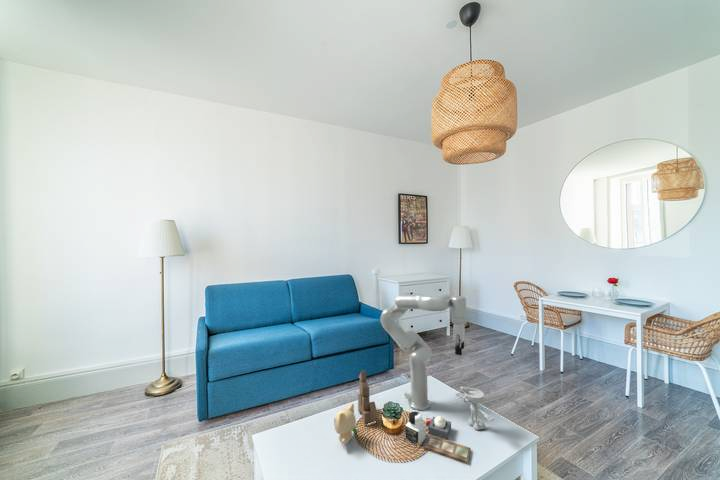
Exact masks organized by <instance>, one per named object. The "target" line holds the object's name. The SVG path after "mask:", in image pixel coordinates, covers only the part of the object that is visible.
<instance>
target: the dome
mask: <svg viewBox="0 0 720 480" xmlns="http://www.w3.org/2000/svg"><path fill="white" fill-rule="evenodd" d="M445 420H446V419H445V418H444V417H443V416H442V415H441V416H440V415H437V416H436V418H435V419H434V427H437V428H441V429H444V430H445V428H446V421H447V420H446V421H445Z"/></svg>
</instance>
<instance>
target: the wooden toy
mask: <svg viewBox="0 0 720 480" xmlns="http://www.w3.org/2000/svg"><path fill="white" fill-rule="evenodd" d="M358 378H359V389H358V390H359V392H358V393H359V394H358V395H357V399H358V400H357V411H358V414H359V415H361V416H362V422H363V421H364V422H363V424H364V423H365V424H368V423H371V422H374V421H376V422H377V407H376V403H375V401H371V402H370V386H369V385H368V382H367V370H362V371H360V374H359V376H358Z"/></svg>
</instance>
